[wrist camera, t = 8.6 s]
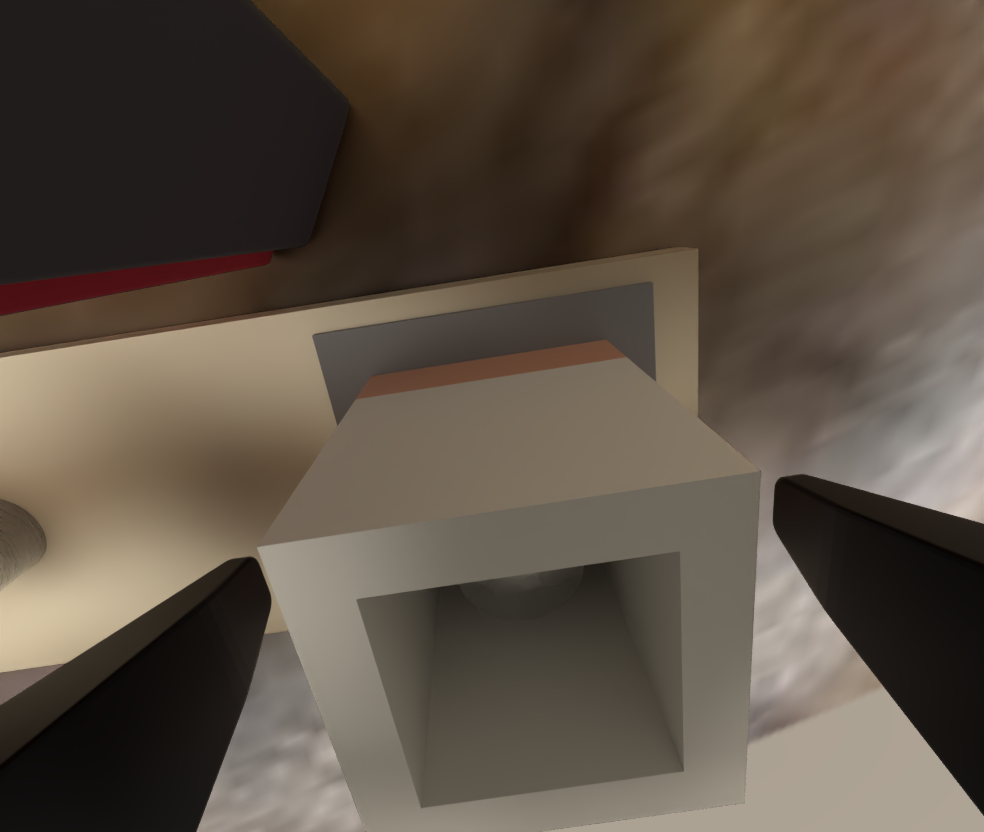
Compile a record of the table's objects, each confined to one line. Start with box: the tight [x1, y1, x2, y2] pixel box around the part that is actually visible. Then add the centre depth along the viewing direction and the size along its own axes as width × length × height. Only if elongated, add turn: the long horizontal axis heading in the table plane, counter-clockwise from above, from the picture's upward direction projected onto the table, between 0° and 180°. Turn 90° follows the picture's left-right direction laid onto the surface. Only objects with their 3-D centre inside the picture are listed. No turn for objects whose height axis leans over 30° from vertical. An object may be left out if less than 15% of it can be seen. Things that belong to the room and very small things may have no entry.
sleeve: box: [257, 340, 761, 832], centre depth 9 cm, size 5×5×6 cm
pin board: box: [0, 247, 698, 672], centre depth 12 cm, size 8×21×1 cm, turn 98°
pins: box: [0, 499, 584, 620], centre depth 10 cm, size 2×14×4 cm, turn 98°
